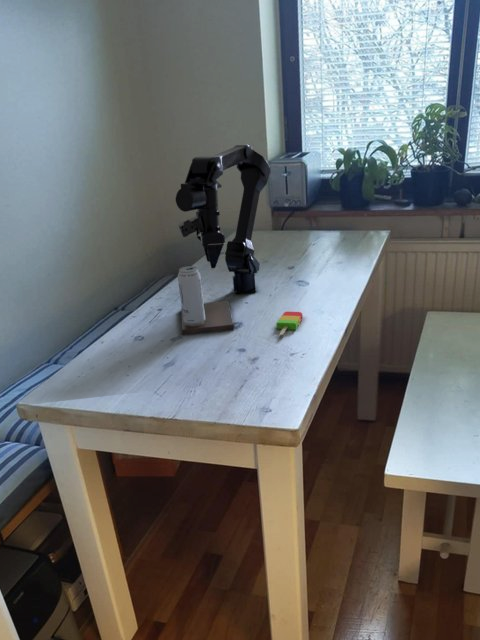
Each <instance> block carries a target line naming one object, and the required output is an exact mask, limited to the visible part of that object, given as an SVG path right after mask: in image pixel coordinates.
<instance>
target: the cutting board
mask: <svg viewBox="0 0 480 640" xmlns="http://www.w3.org/2000/svg"><path fill="white" fill-rule="evenodd" d="M180 308H181V331H182V336H187V335H196V334H206V333H215V332H224V331H234V330H235V325H234V321H233V317H232V312H231V309H230V308H231V307H230V304H229V300H224V301H214V302H204V311H205V320H204V323H203V324H202V325H199V326H188V325H186V323H185V322H184V320H183V312H182V305H180Z"/></svg>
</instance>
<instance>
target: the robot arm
mask: <svg viewBox="0 0 480 640" xmlns="http://www.w3.org/2000/svg"><path fill="white" fill-rule="evenodd" d="M234 166H236V169H237V170H238V172H240V181H241V184H242V187H243V192H242V197H241V203H240V208H239V214H238V219H237V225H236V230H235V236H234V238H233V239H232V240H228V241H227V242H226V237H225V234H223V232H221V226H220V218H219V216H220V215H221V213H220V211H219V200H218V199H219V198H218V197H219V196H218V189H221V188H222V184H221V183H220V182H218V181H219V180H218V179H219V178H221V177H222V176H223V175H224V171H226V170H228V169H230V168H232V167H234ZM270 175H271V164H270V163H269V161H267V160H266V158H265V157H264V156H263V155H262V154H260V153H258V152H257V151H255V150H254V148H253V147H252V146H251V145H250V144H249V145H248V144H236V145H234V146H233V147H231V148H228V149H225V150H224V151H221V152H219V153H217V154H214V155H204V156H203V155H202V156H194V157H193V158H192V159H191V162H190V166H189V169H188V172H187V175H186V177H185V181H184V183H183V182H182V183H180V189H178V191H177V192H176V195H175V204H176V206H177V208H178V209H179V210H180V211H182V212H184V213H186V212H191V211H194V210H195V216H193V217H191V218H189V219H188V218H187V219H186V220H183V221H181V222H180V223H178V224H177V226H178V228H179V231H180V234H181V236H182V237H183V238H186V237H189V236H190V235H192V234H193V233H194V234H195V235H196V239H198V240H199V241H200V243H201V246H202V247H203V250H204V254H205V258H206V262H207V263H209V264H210V268H211V269H216V266H217V264H218V261H219V258H220V256H221V253H222V250H223V248H224V246H225V243H226V249H225V251H224V252H225V253H224V255H225V256H224V260H225V264H226V267H227V270H228V272H229V273H233V275H232V287H233V291H234V292H235V294H236V295H241V294H252V293H257V287H256V275H255V274H257V273H258V272H259V271H260V262H259V261H258V260H257V258H256V257H255V248H254V245H253V243H252V238H253V237H252V236H253V231H254V226H255V221H256V216H257V209H258V205H259V200H260V194H261V192H262V191H263V190H264V188H265V187H266V186H267V184H268V181H269V178H270Z"/></svg>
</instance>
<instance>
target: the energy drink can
mask: <svg viewBox="0 0 480 640" xmlns="http://www.w3.org/2000/svg"><path fill="white" fill-rule="evenodd" d="M201 277H202V276H201V272H199V270H198V267H197V266H195V265H194V266H193V265H188V266H182V267H180V268H179V269H178V274H177V283H178V289H179V296H180V297H179V298H180V304H181V305H180V306H182V311H181V313H182V312H183V320H184V322H185V323H186V325H188V326H199V325H202V324H203V323H204V320H205V311H204V303H205V302H204V296H203V287H202V286H203V285H202V278H201Z"/></svg>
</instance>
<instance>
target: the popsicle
mask: <svg viewBox="0 0 480 640" xmlns="http://www.w3.org/2000/svg"><path fill="white" fill-rule="evenodd" d="M302 320H303V312H301V311H284V312H283V313H282V314H281V316H280V318H279V319H278V321H277V322H276V323H275V325H276V326H275V327H276V329H277V330H280V332H279V334H278V335H279V336H284V334H285V332H286V331H287V330H288V331H289V330H290V331H296V330H297V328H298V327H299V325H300V324H301V322H302Z"/></svg>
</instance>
